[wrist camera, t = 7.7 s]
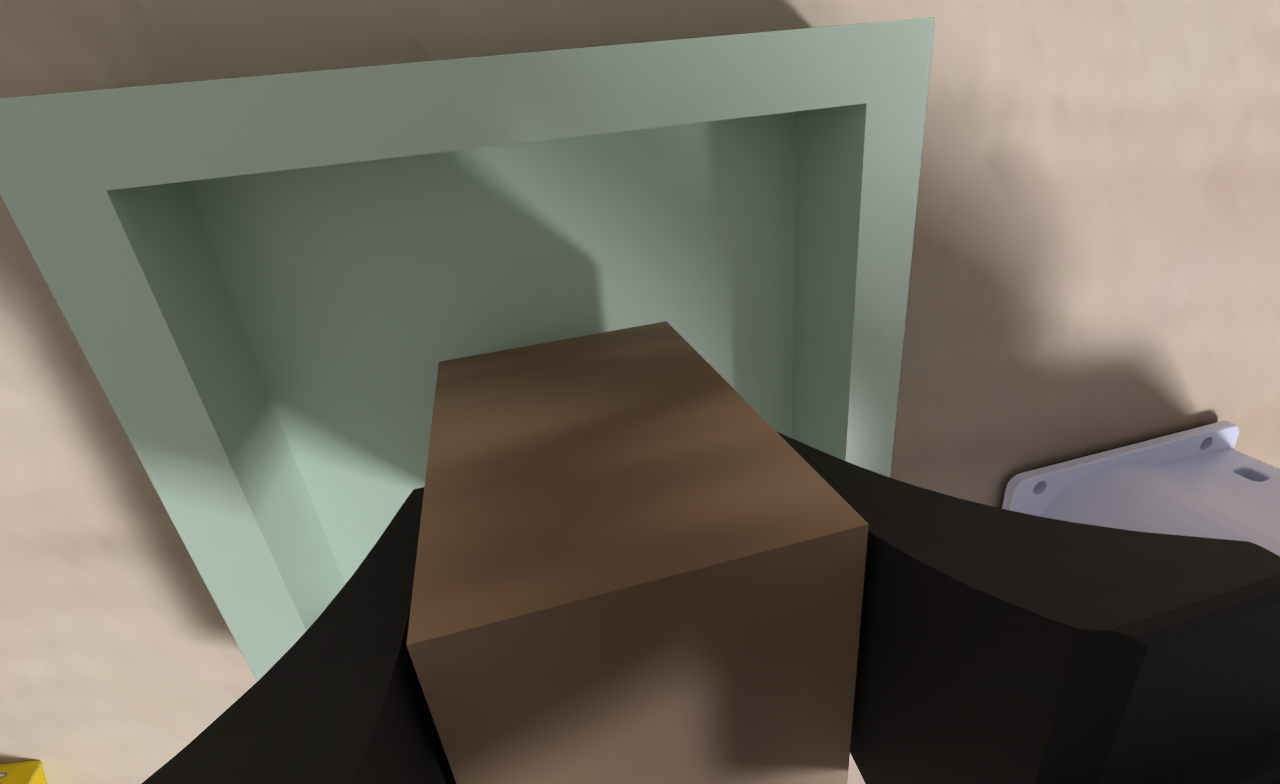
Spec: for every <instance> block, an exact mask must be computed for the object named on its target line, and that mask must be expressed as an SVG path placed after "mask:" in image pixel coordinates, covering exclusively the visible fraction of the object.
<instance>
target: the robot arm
mask: <svg viewBox="0 0 1280 784" xmlns="http://www.w3.org/2000/svg"><path fill="white" fill-rule="evenodd" d="M776 432H777V431H776ZM777 433H778V434H779V435H780V436H781V437H782V438H783V439H784V440H785V441H786V442H787V443H788V444H789V445H790V446H791V447H792V448H793V449H794V450H795V451H796V452H797V453H798V454H799V455H800V456H801V457H802V458H803V459H804V460H805V461H806V462H807V463H808V464H809V465H810V466H811V467H812V468H813V469H814V470H815V471H816V472H817V473H818V474H819V475H820V476H821V477H822V478H823V479H824V480H825V481H826V482H827V483H828V484H829V485H830V486H831V487H832V488H833V489H834V490H835V491H836V492H837V493H838V494H839V495H840V496H841V497H842V498H843V499H844V500H845V501H846V502H847V503H848V504H849V505H850V506H851V507H852V508H853V509H854V510H855V511H856V512H857V513H858V514H859V515H860V516H861V517H862V518H863V519H864V520H865V521H866V522H867V523H868V524H869V527H868V539H867V551H866V563H865V575H864V587H863V599H862V611H861V623H860V635H859V647H858V659H857V671H856V683H855V695H854V707H853V719H852V731H851V743H850V753H851V755H852V757H853V759H854V761H855V763H856V765H857V767H858V769H859V771H860V773H861V775H862V777H863V779H864V781H865V783H866V784H1280V469H1279V468H1276V467H1274V466H1272V465H1269V464H1267V463H1265V462H1262V461H1260V460H1258V459H1255V458H1253V457H1251V456H1248V455H1246V454H1243V453H1241V452H1239V451H1236V450H1234V446H1235V444H1236V441H1237V438H1238V436H1239V427H1238V426H1237V425H1235V424H1233V423H1230V422H1228V421H1221V422H1217V423H1213V424H1209V425H1205V426H1202V427H1198V428H1194V429H1190V430H1186V431H1182V432H1178V433H1174V434H1170V435H1167V436H1163V437H1159V438H1155V439H1151V440H1147V441H1143V442H1139V443H1136V444H1132V445H1128V446H1124V447H1120V448H1116V449H1112V450H1108V451H1104V452H1101V453H1097V454H1093V455H1089V456H1085V457H1081V458H1077V459H1073V460H1070V461H1066V462H1062V463H1058V464H1054V465H1050V466H1046V467H1042V468H1038V469H1035V470H1031V471H1027V472H1023V473H1020V474H1017V475H1015V476H1014V477H1013V478H1011V479H1010V481H1009V482H1008V484H1007V486H1006V490H1005V495H1004V500H1003V505H1002V509H1001V508H997V507H992V506H987V505H983V504H979V503H975V502H971V501H967V500H963V499H959V498H955V497H952V496H948V495H945V494H941V493H938V492H934V491H931V490H927V489H924V488H920V487H917V486H913V485H910V484H907V483H904V482H901V481H898V480H895V479H892V478H889V477H887V476H884V475H881V474H878V473H876V472H873V471H870V470H867V469H865V468H862V467H859V466H857V465H854V464H852V463H849V462H847V461H844V460H842V459H839V458H837V457H834V456H832V455H829V454H827V453H825V452H822V451H820V450H818V449H815V448H813V447H811V446H808V445H806V444H804V443H802V442H799V441H797V440H795V439H792V438H790V437H788V436H786V435H783V434H781V433H779V432H777ZM423 495H424V487H422V488H418V489H413V491H412V492H411V494H410V495H409V496H408V498H407V499H406V500H405V502H404V503H403V505H402V506H401V508H400V509H399V510H398V512H397V513H396V515H395V516H394V518H393V519H392V521H391V522H390V524H389V525H388V527H387V528H386V529H385V531H384V532H383V534H382V535H381V537H380V538H379V540H378V541H377V542H376V544H375V545H374V547H373V548H372V549H371V551H370V552H369V553H368V555H367V556H366V558H365V559H364V560H363V562H362V563H361V564H360V566H359V567H358V569H357V570H356V571H355V573H354V574H353V575H352V577H351V578H350V579H349V580H348V582H347V583H346V584H345V585H344V587H343V588H342V589H341V590H340V591H339V593H338V594H337V595H336V596H335V598H334V599H333V600H332V601H331V603H330V604H329V605H328V606H327V607H326V609H325V610H324V611H323V612H322V614H321V615H320V616H319V617H318V618H317V620H316V621H315V622H314V623H313V624H312V625H311V626H310V627H309V629H308V630H307V631H306V632H305V633H304V634H303V635H302V636H301V637H300V638H299V640H298V641H297V642H296V643H295V644H294V645H293V646H292V647H291V648H290V649H289V650H288V651H287V652H286V653H285V654H284V655H283V656H282V657H281V658H280V659H279V660H278V661H277V662H276V663H275V664H274V665H273V667H272V668H271V669H270V670H269V671H268V672H267V673H266V674H265V675H264V676H263V677H262V678H261V679H260V680H259V681H258V682H257V683H256V684H254V685H253V686H252V687H251V688H250V689H249V690H248V691H247V692H246V693H245V694H244V695H243V696H241V697H240V698H239V699H238V700H237V701H236V702H235V703H234V704H233V705H232V706H230V707H229V708H228V709H227V710H226V711H225V712H224V713H223V714H222V715H221V716H219V717H218V718H217V719H216V720H215V721H214V722H213V723H212V724H211V725H210V726H208V727H207V728H206V729H205V730H204V731H203V732H202V733H201V734H200V735H199V736H197V737H196V738H195V739H194V740H193V741H192V742H191V743H190V744H189V745H187V746H186V747H185V748H184V749H183V750H182V751H180V752H179V753H178V754H177V755H176V756H175V757H173V758H172V759H171V760H170V761H169V762H167V763H166V764H165V765H164V766H163V767H161V768H160V769H159V770H158V771H156V772H155V773H154V774H153V775H152V776H150V777H149V778H148V779H147V780H146V781H144V782H143V783H142V784H456V781H455V778H454V775H453V773H452V770H451V767H450V764H449V762H448V759H447V756H446V753H445V751H444V748H443V745H442V742H441V740H440V737H439V734H438V731H437V729H436V726H435V723H434V720H433V718H432V715H431V712H430V709H429V707H428V704H427V701H426V698H425V696H424V693H423V690H422V687H421V685H420V682H419V679H418V676H417V673H416V671H415V668H414V665H413V662H412V660H411V657H410V654H409V651H408V649H407V646H406V644H407V635H408V627H409V618H410V609H411V600H412V592H413V583H414V574H415V565H416V556H417V548H418V539H419V530H420V521H421V513H422V504H423Z"/></svg>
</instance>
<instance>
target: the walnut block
mask: <svg viewBox="0 0 1280 784" xmlns="http://www.w3.org/2000/svg"><path fill="white" fill-rule="evenodd" d="M868 527H869V524H868V523H867V522H866V521H865V520H864V519H863V518H862V517H861V516H860V515H859V514H858V513H857V512H856V511H855V510H854V509H853V508H852V507H851V506H850V505H849V504H848V503H847V502H846V501H845V500H844V499H843V498H842V497H841V496H840V495H839V494H838V493H837V492H836V491H835V490H834V489H833V488H832V487H831V486H830V485H829V484H828V483H827V482H826V481H825V480H824V479H823V478H822V477H821V476H820V475H819V474H818V473H817V472H816V471H815V470H814V469H813V468H812V467H811V466H810V465H809V464H808V463H807V462H806V461H805V460H804V459H803V458H802V457H801V456H800V455H799V454H798V453H797V452H796V451H795V450H794V449H793V448H792V447H791V446H790V445H789V444H788V443H787V442H786V441H785V440H784V439H783V438H782V437H781V436H780V435H779V434H778V433H777V432H776V431H775V430H774V429H773V428H772V427H771V426H770V425H769V424H768V423H767V422H766V421H765V420H764V419H763V418H762V417H761V416H760V415H759V414H758V413H757V412H756V411H755V410H754V409H753V408H752V407H751V406H750V405H749V404H748V403H747V402H746V401H745V400H744V399H743V398H742V397H741V396H740V395H739V394H738V392H737V391H736V390H735V389H734V388H733V387H732V386H731V385H730V384H729V383H728V382H727V381H726V380H725V379H724V378H723V377H722V376H721V375H720V374H719V373H718V372H717V371H716V370H715V369H714V368H713V367H712V366H711V365H710V364H709V363H708V362H707V361H706V360H705V359H704V358H703V357H702V356H701V355H700V354H699V353H698V352H697V351H696V350H695V349H694V348H693V347H692V346H691V345H690V344H689V343H688V342H687V341H686V340H685V339H684V338H683V337H682V336H681V335H680V334H679V333H678V332H677V331H676V330H675V329H674V328H673V327H672V326H671V325H670V324H669V323H668V322H667V321H664V322H659V323H653V324H648V325H642V326H636V327H631V328H625V329H620V330H614V331H608V332H603V333H597V334H592V335H586V336H580V337H575V338H569V339H564V340H558V341H552V342H547V343H541V344H536V345H530V346H524V347H519V348H513V349H508V350H502V351H496V352H491V353H485V354H480V355H474V356H468V357H463V358H457V359H452V360H446V361H440V362H439V364H438V373H437V381H436V390H435V399H434V408H433V416H432V425H431V434H430V443H429V451H428V460H427V469H426V478H425V486H424V495H423V504H422V513H421V521H420V530H419V539H418V548H417V556H416V565H415V574H414V583H413V592H412V600H411V609H410V618H409V627H408V635H407V644H406V646H407V649H408V651H409V654H410V657H411V660H412V662H413V665H414V668H415V671H416V673H417V676H418V679H419V682H420V685H421V687H422V690H423V693H424V696H425V698H426V701H427V704H428V707H429V709H430V712H431V715H432V718H433V720H434V723H435V726H436V729H437V731H438V734H439V737H440V740H441V742H442V745H443V748H444V751H445V753H446V756H447V759H448V762H449V764H450V767H451V770H452V773H453V775H454V778H455V781H456V784H847V779H848V767H849V755H850V743H851V731H852V719H853V707H854V695H855V683H856V671H857V659H858V647H859V635H860V623H861V611H862V599H863V587H864V575H865V563H866V551H867V539H868Z"/></svg>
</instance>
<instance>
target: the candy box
mask: <svg viewBox="0 0 1280 784" xmlns="http://www.w3.org/2000/svg"><path fill="white" fill-rule="evenodd" d="M0 784H47V782H46V779H45V775H44V772H43V766H42V762H41V761H39V760H32V761H22V762H12V763H3V764H0Z"/></svg>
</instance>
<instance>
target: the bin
mask: <svg viewBox="0 0 1280 784" xmlns="http://www.w3.org/2000/svg"><path fill="white" fill-rule="evenodd" d="M934 24H935V17H930V18H919V19H907V20H896V21H884V22H873V23H861V24H849V25H838V26H826V27H815V28H803V29H792V30H780V31H769V32H757V33H746V34H734V35H723V36H711V37H700V38H688V39H677V40H665V41H653V42H642V43H630V44H619V45H607V46H596V47H584V48H573V49H561V50H550V51H538V52H527V53H515V54H504V55H492V56H480V57H469V58H457V59H446V60H434V61H423V62H411V63H400V64H388V65H377V66H365V67H354V68H342V69H331V70H319V71H308V72H296V73H284V74H273V75H261V76H250V77H238V78H227V79H215V80H204V81H192V82H181V83H169V84H158V85H146V86H135V87H123V88H111V89H100V90H88V91H77V92H65V93H54V94H42V95H31V96H19V97H8V98H0V196H1V198H2V200H3V202H4V204H5V206H6V207H7V209H8V211H9V213H10V215H11V217H12V219H13V221H14V223H15V225H16V226H17V228H18V230H19V232H20V234H21V236H22V238H23V240H24V242H25V243H26V245H27V247H28V249H29V251H30V253H31V255H32V257H33V259H34V260H35V262H36V264H37V266H38V268H39V270H40V272H41V274H42V276H43V278H44V279H45V281H46V283H47V285H48V287H49V289H50V291H51V293H52V295H53V296H54V298H55V300H56V302H57V304H58V306H59V308H60V310H61V312H62V313H63V315H64V317H65V319H66V321H67V323H68V325H69V327H70V329H71V331H72V332H73V334H74V336H75V338H76V340H77V342H78V344H79V346H80V348H81V349H82V351H83V353H84V355H85V357H86V359H87V361H88V363H89V365H90V366H91V368H92V370H93V372H94V374H95V376H96V378H97V380H98V382H99V384H100V385H101V387H102V389H103V391H104V393H105V395H106V397H107V399H108V401H109V402H110V404H111V406H112V408H113V410H114V412H115V414H116V416H117V418H118V419H119V421H120V423H121V425H122V427H123V429H124V431H125V433H126V435H127V437H128V438H129V440H130V442H131V444H132V446H133V448H134V450H135V452H136V454H137V455H138V457H139V459H140V461H141V463H142V465H143V467H144V469H145V471H146V472H147V474H148V476H149V478H150V480H151V482H152V484H153V486H154V488H155V490H156V491H157V493H158V495H159V497H160V499H161V501H162V503H163V505H164V507H165V508H166V510H167V512H168V514H169V516H170V518H171V520H172V522H173V524H174V526H175V527H176V529H177V531H178V533H179V535H180V537H181V539H182V541H183V543H184V544H185V546H186V548H187V550H188V552H189V554H190V556H191V558H192V560H193V561H194V563H195V565H196V567H197V569H198V571H199V573H200V575H201V577H202V579H203V580H204V582H205V584H206V586H207V588H208V590H209V592H210V594H211V596H212V597H213V599H214V601H215V603H216V605H217V607H218V609H219V611H220V613H221V614H222V616H223V618H224V620H225V622H226V624H227V626H228V628H229V630H230V632H231V633H232V635H233V637H234V639H235V641H236V643H237V645H238V647H239V649H240V650H241V652H242V654H243V656H244V658H245V660H246V662H247V664H248V666H249V667H250V669H251V671H252V673H253V675H254V677H255V679H256V681H257V682H258V681H259V680H260V679H261V678H262V677H263V676H264V675H265V674H266V673H267V672H268V671H269V670H270V669H271V668H272V667H273V665H274V664H275V663H276V662H277V661H278V660H279V659H280V658H281V657H282V656H283V655H284V654H285V653H286V652H287V651H288V650H289V649H290V648H291V647H292V646H293V645H294V644H295V643H296V642H297V641H298V640H299V638H300V637H301V636H302V635H303V634H304V633H305V632H306V631H307V630H308V629H309V627H310V626H311V625H312V624H313V623H314V622H315V621H316V620H317V618H318V617H319V616H320V615H321V614H322V612H323V611H324V610H325V609H326V607H327V606H328V605H329V604H330V603H331V601H332V600H333V599H334V598H335V596H336V595H337V594H338V593H339V591H340V590H341V589H342V588H343V587H344V585H345V584H346V583H347V582H348V580H349V579H350V578H351V577H352V575H353V574H354V573H355V571H356V570H357V569H358V567H359V566H360V564H361V563H362V562H363V560H364V559H365V558H366V556H367V555H368V553H369V552H370V551H371V549H372V548H373V547H374V545H375V544H376V542H377V541H378V540H379V538H380V537H381V535H382V534H383V532H384V531H385V529H386V528H387V527H388V525H389V524H390V522H391V521H392V519H393V518H394V516H395V515H396V513H397V512H398V510H399V509H400V508H401V506H402V505H403V503H404V502H405V500H406V499H407V498H408V496H409V495H410V494H411V492H412V491H413V489H418V488H422V487H424V486H425V478H426V469H427V460H428V451H429V443H430V434H431V425H432V416H433V408H434V399H435V390H436V381H437V373H438V364H439V362H440V361H446V360H452V359H457V358H463V357H468V356H474V355H480V354H485V353H491V352H496V351H502V350H508V349H513V348H519V347H524V346H530V345H536V344H541V343H547V342H552V341H558V340H564V339H569V338H575V337H580V336H586V335H592V334H597V333H603V332H608V331H614V330H620V329H625V328H631V327H636V326H642V325H648V324H653V323H659V322H664V321H667V322H668V323H669V324H670V325H671V326H672V327H673V328H674V329H675V330H676V331H677V332H678V333H679V334H680V335H681V336H682V337H683V338H684V339H685V340H686V341H687V342H688V343H689V344H690V345H691V346H692V347H693V348H694V349H695V350H696V351H697V352H698V353H699V354H700V355H701V356H702V357H703V358H704V359H705V360H706V361H707V362H708V363H709V364H710V365H711V366H712V367H713V368H714V369H715V370H716V371H717V372H718V373H719V374H720V375H721V376H722V377H723V378H724V379H725V380H726V381H727V382H728V383H729V384H730V385H731V386H732V387H733V388H734V389H735V390H736V391H737V392H738V394H739V395H740V396H741V397H742V398H743V399H744V400H745V401H746V402H747V403H748V404H749V405H750V406H751V407H752V408H753V409H754V410H755V411H756V412H757V413H758V414H759V415H760V416H761V417H762V418H763V419H764V420H765V421H766V422H767V423H768V424H769V425H770V426H771V427H772V428H773V429H774V430H775V431H777V432H779V433H781V434H783V435H786V436H788V437H790V438H792V439H795V440H797V441H799V442H802V443H804V444H806V445H808V446H811V447H813V448H815V449H818V450H820V451H822V452H825V453H827V454H829V455H832V456H834V457H837V458H839V459H842V460H844V461H847V462H849V463H852V464H854V465H857V466H859V467H862V468H865V469H867V470H870V471H873V472H876V473H878V474H881V475H884V476H887V477H889V478H890V475H891V465H892V455H893V444H894V434H895V424H896V414H897V403H898V393H899V383H900V373H901V362H902V352H903V342H904V332H905V321H906V311H907V301H908V291H909V280H910V270H911V260H912V250H913V239H914V229H915V219H916V209H917V198H918V188H919V178H920V168H921V157H922V147H923V137H924V127H925V116H926V106H927V96H928V86H929V75H930V65H931V55H932V45H933V34H934Z"/></svg>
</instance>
